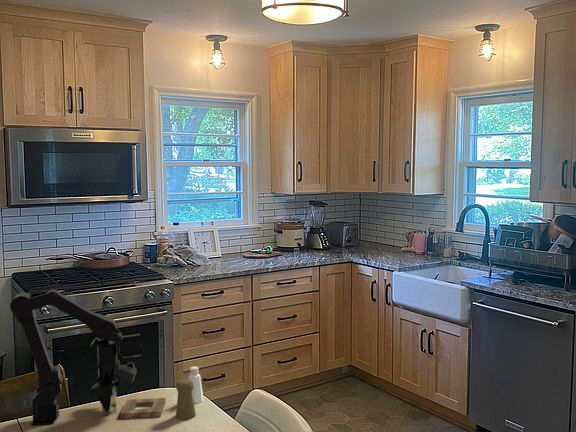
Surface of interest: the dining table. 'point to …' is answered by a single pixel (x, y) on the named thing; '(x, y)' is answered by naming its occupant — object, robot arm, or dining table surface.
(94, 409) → the dining table surface
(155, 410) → the socket board
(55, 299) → the robot arm
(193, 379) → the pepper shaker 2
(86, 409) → the dining table surface
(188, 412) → the pepper shaker
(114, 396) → the brass pin
